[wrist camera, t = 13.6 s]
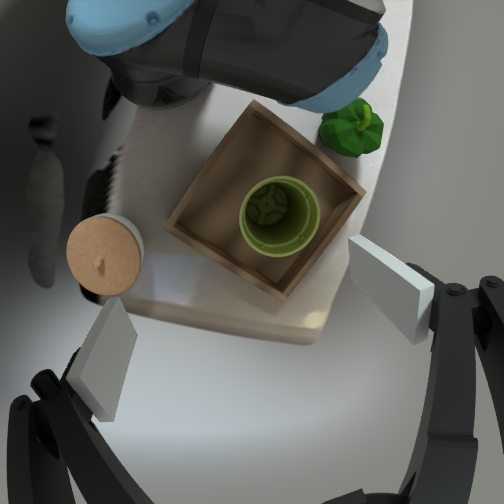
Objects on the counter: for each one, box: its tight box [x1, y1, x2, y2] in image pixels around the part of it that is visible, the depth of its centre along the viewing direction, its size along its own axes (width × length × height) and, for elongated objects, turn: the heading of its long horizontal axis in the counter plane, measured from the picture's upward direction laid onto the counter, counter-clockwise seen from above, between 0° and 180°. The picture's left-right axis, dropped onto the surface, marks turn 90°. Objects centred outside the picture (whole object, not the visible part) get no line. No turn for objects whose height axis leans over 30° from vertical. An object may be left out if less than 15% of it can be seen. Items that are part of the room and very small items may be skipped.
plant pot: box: [239, 176, 320, 257], centre depth 37 cm, size 9×9×9 cm
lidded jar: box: [67, 213, 144, 296], centre depth 36 cm, size 11×11×9 cm
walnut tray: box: [163, 99, 366, 302], centre depth 40 cm, size 20×20×5 cm
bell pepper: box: [319, 98, 384, 158], centre depth 35 cm, size 8×8×10 cm
